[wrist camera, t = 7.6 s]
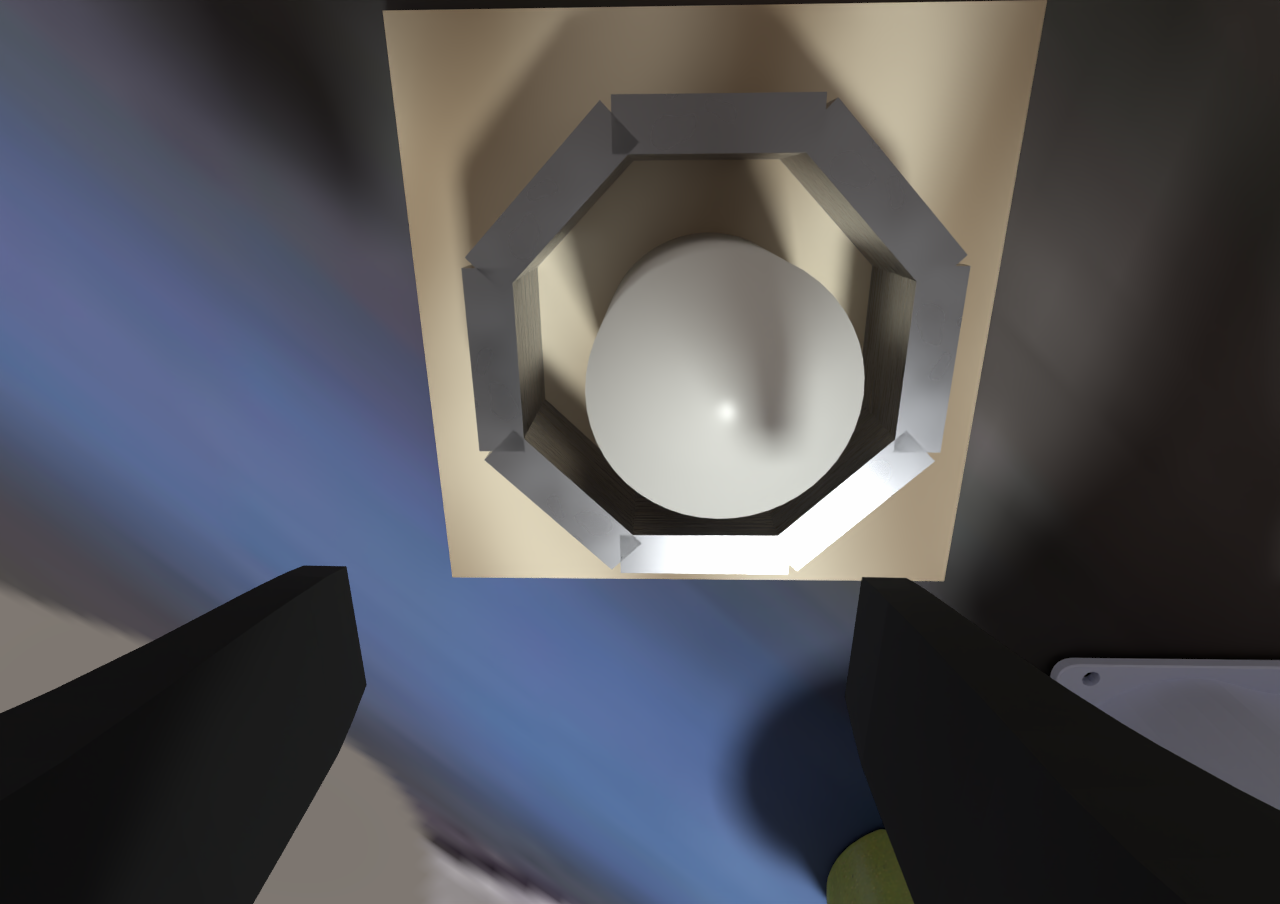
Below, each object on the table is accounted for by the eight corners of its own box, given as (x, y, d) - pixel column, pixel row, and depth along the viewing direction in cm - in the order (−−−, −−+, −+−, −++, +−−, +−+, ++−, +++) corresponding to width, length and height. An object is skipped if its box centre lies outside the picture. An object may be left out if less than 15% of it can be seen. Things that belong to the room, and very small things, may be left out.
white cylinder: (816, 232, 16) (882, 250, 11) (797, 434, 18) (847, 520, 13) (603, 231, 16) (581, 248, 11) (606, 431, 18) (588, 516, 13)
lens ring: (935, 108, 15) (999, 89, 12) (881, 517, 19) (920, 575, 16) (483, 113, 15) (444, 96, 12) (516, 515, 19) (491, 572, 16)
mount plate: (1027, 9, 15) (1047, 0, 14) (933, 566, 20) (943, 581, 19) (396, 19, 15) (382, 10, 15) (460, 562, 20) (452, 577, 20)
